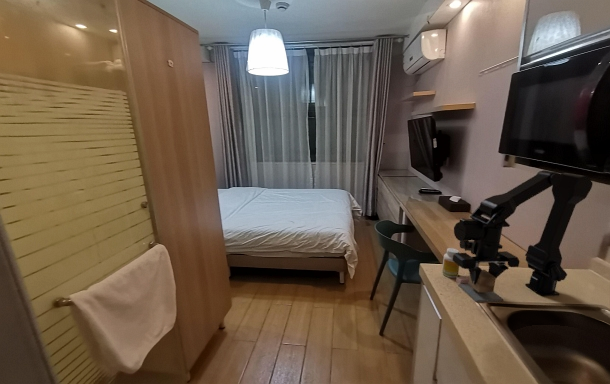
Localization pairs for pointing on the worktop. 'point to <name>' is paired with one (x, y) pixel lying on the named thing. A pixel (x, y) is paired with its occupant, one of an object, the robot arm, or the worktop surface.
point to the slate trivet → (480, 294)
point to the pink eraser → (463, 279)
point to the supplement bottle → (450, 264)
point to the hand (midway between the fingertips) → (481, 283)
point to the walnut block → (484, 282)
